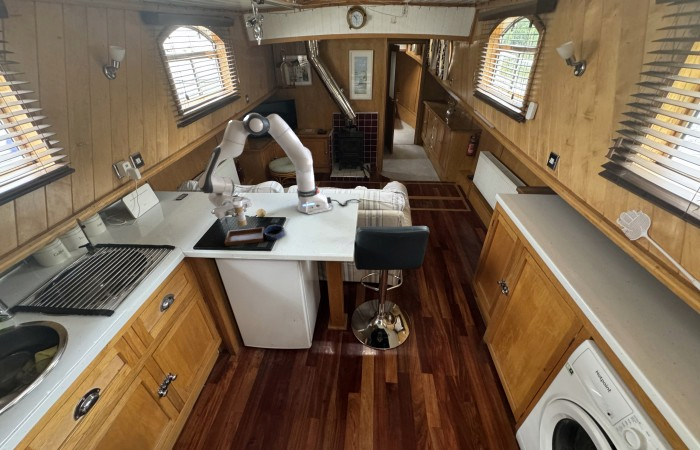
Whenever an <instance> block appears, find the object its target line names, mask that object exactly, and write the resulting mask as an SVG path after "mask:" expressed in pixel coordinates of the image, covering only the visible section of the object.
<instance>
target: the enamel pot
mask: <svg viewBox="0 0 700 450" xmlns="http://www.w3.org/2000/svg"><path fill="white" fill-rule="evenodd" d="M264 229H265V230H264V239H266V240H268V241H277V240H279V239H282V238H283V237H284V236H285V228H284V226H283V225H279V224H277V223H276V224H272V225H269V226H267V227H266V228H264ZM272 231H280V232H279V233H276V234H269V233H270V232H272Z"/></svg>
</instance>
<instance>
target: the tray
mask: <svg viewBox="0 0 700 450" xmlns="http://www.w3.org/2000/svg"><path fill="white" fill-rule="evenodd" d="M265 229H266V228H265V226H261V227H252V228H251V227H250V228H243V229H233V230H228V231H227V234H226V237H225V240H224V245H225V247H231V246H237V245H238V246H239V245H246V244H247V245H248V244H255V243H263V242H264V240H265V236H264V230H265Z"/></svg>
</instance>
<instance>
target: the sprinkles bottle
mask: <svg viewBox="0 0 700 450" xmlns="http://www.w3.org/2000/svg"><path fill="white" fill-rule="evenodd" d="M233 206H234V209H235V212H236V213H237V215H236V216H235V217H236V220H237V223H238V227H245V226H247V224H248V223H247V219H246V218H247V217H246V214H245V212H244V210H243V205H242V202H241V201H236V202H234V203H233Z"/></svg>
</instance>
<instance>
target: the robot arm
mask: <svg viewBox="0 0 700 450" xmlns="http://www.w3.org/2000/svg"><path fill="white" fill-rule="evenodd" d="M265 133H268V134H269V135H271V137H272V138H273V140H275V141H276V143H277V144H278V145H279V146H280V148H281V149H282V150H283V151H284V153H285V155H286V156H287V158H288V159H289V161H291V163H292V164H293V166H294V169H295V178H296V187H297V189H296V192H297V193H296V195H297V198H298V203H297V204H298V205H297V211H299V212H300V213H305V214H306V215H313V214H318V213H323V212H328V211H331V210H332V207H333V206H332V202H337V203H338V204H339V205H340V206H342V207H346V206H348V202H351V201H357V202H359V203H362V201H361V200H360V199H357V198H351V199H348V200H346V201H345V204H342V203H341V202H340V201H339V200H337V199H331V197H330V196H326V195H325V194H323V193H322V192H320V190H319V187H318V186H316V184H315V175H314V174H315V173H314V167H313V164H314V161H313V156H312V155H313V154H312V151H310V149H309V148H308V147H306V146H304V144H302V142H301V141H300V139H299V137H298V136H297V134H295V132H294V131H293V130H292V128H291V127H290V126H289V124H288V123H287V122H286V121H285V120H284V119H283V118H282V117H281V116H280V115H279V114H277V113H271V114H269V115H267V116H263V115H262V114H259V113H257V112H250V113H248V114H247V115H246V116H245V117H244V118H242V120H238V119H232V120H230V121H229V122H228V123H227V125H226V127H225V130H224V134H223V136H222V137H223V138H222V140H221V142H220V143H219V144H218V146H216V147H214V148H213V150H212V151H211V153H210V156H209V158H208V161H207V162H206V165H205V168H204V169H203V172H202V174H201V175H200V177H199V179H198V182H197V186H198V189H199V191H201V193H203V194H208V201H209V202H210V203H211V205H213V206H214V208H213V209H212V210H211V211H210V213H211V214H212V215H214V216H215V218H217V219H218V220H220V219H221V220H222V219H223V218H226V217H229V216H232V217H236V215H237V213H236V212H235V209H234V206H233V203H234V202H236V201H241V202H242V205H243V210H244V213H245V212H247V209H248V208H250V207H252V206H253V203H252V200H251V199H250V198H248V197H246V196H242V194H235V195H234V193H235V187H236V186H235V182H234V181H233V179H232V178H230V177H225V176H217V175H215V173H216V171H217V169H218V166H219V164H220V163H221V162H223V161H225V160H229V159H234V158H238V157H239V156H241V155H242V153H243V151H244V148H245V144H246V139H247V138H248V136H249V135H250V134H251V135H253V136H261V135H263V134H265Z"/></svg>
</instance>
